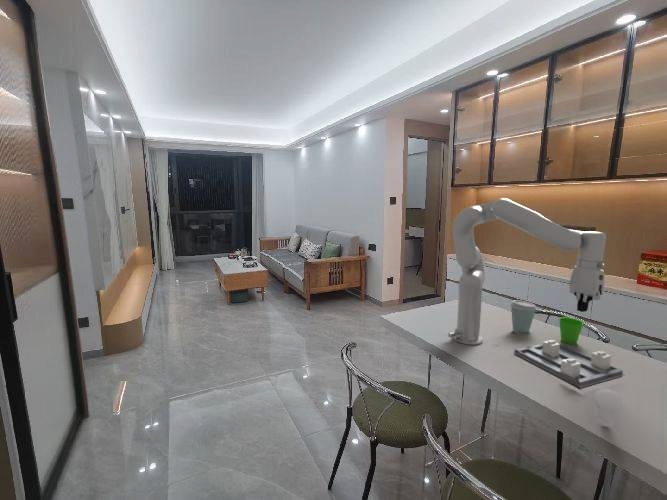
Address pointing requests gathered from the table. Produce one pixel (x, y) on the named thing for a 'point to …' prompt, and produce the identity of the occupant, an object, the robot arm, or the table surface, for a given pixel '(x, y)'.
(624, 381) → the table surface
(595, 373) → the switch board
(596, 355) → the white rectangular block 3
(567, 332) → the cup
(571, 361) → the white stepped block
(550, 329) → the table surface
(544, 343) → the white stepped block
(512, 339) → the table surface
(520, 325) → the disposable coffee cup
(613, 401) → the lightbulb
